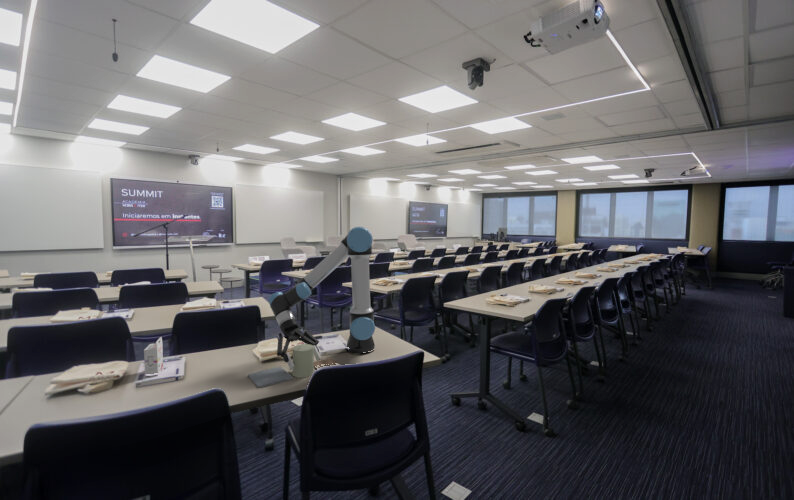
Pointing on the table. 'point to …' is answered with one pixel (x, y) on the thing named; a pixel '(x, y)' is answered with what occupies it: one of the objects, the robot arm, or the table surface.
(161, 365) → the ink cartridge box
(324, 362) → the walnut coaster
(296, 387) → the table surface
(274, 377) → the grey mat
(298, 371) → the can
